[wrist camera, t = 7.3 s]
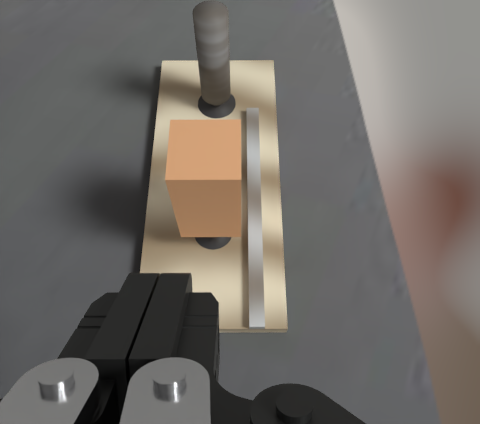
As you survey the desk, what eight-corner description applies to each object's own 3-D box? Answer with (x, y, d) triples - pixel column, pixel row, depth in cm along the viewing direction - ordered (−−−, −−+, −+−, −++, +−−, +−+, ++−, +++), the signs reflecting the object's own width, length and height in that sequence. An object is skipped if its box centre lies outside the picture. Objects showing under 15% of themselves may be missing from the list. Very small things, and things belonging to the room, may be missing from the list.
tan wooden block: (241, 247, 32) (241, 179, 24) (184, 247, 32) (165, 179, 24) (240, 197, 34) (240, 119, 26) (187, 198, 33) (170, 119, 26)
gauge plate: (286, 332, 30) (305, 283, 21) (137, 332, 30) (94, 284, 21) (272, 68, 41) (281, -35, 33) (163, 69, 41) (143, -35, 33)
